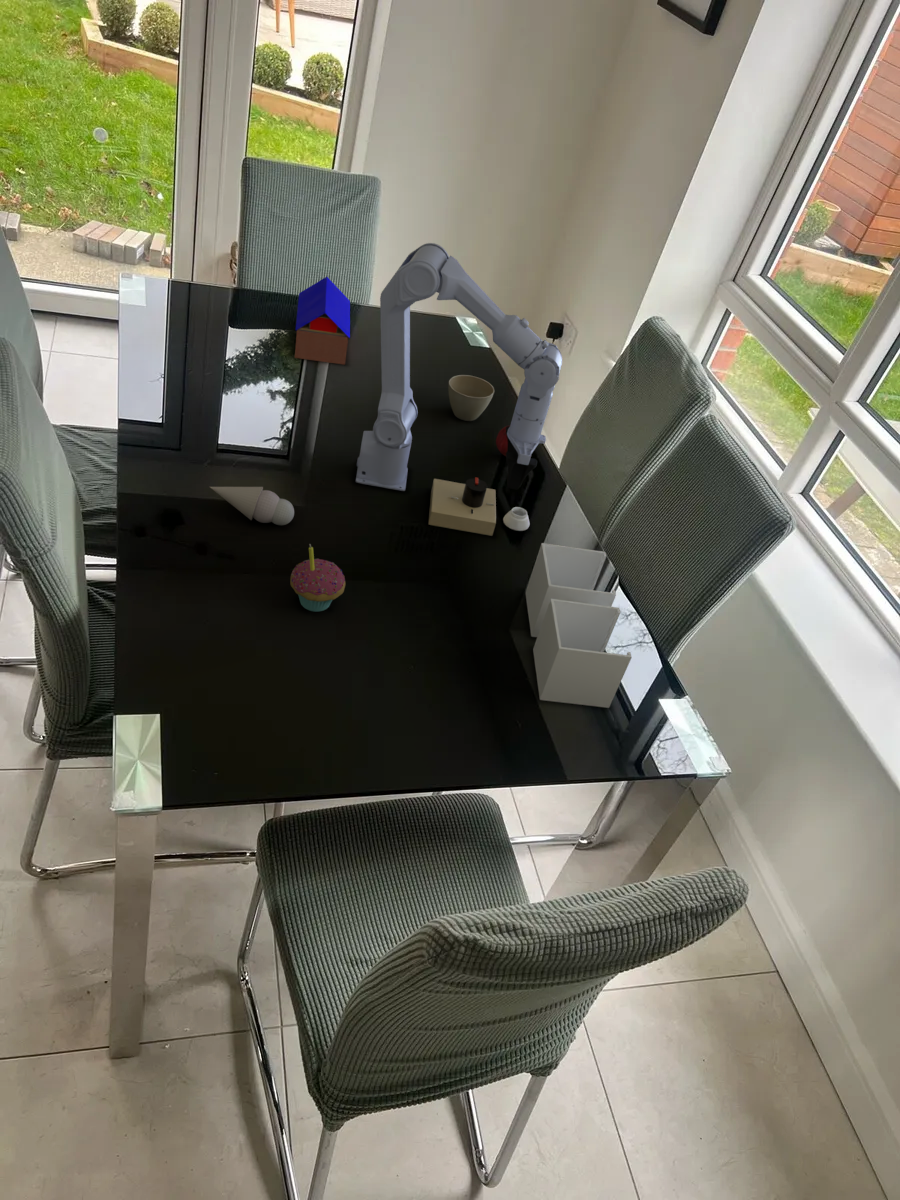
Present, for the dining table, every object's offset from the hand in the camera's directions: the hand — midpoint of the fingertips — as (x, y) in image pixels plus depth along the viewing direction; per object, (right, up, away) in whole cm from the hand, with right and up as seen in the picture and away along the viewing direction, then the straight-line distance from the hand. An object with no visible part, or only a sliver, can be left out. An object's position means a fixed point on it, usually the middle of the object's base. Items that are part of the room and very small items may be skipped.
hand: (512, 476), depth 170 cm
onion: (0, +7, +20) cm, 22 cm away
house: (-42, +37, +43) cm, 71 cm away
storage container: (+7, -31, -21) cm, 38 cm away
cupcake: (-33, -23, -25) cm, 48 cm away
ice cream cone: (-46, -9, -12) cm, 48 cm away
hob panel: (-9, -7, +1) cm, 12 cm away
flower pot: (-8, +17, +30) cm, 36 cm away
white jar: (+1, -9, +2) cm, 9 cm away
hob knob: (-7, -5, 0) cm, 9 cm away
